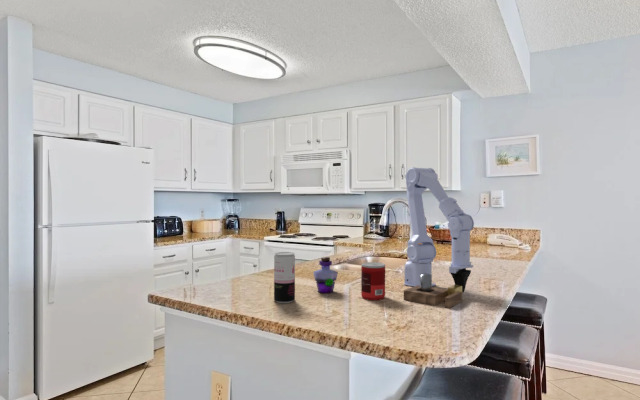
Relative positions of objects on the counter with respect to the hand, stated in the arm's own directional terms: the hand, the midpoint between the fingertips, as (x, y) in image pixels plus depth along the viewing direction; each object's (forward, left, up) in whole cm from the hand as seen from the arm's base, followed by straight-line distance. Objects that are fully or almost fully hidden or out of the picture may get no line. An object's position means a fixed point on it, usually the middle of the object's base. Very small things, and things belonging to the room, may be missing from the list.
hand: (460, 291), depth 131 cm
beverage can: (-40, -42, -2) cm, 58 cm away
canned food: (-21, -20, -2) cm, 29 cm away
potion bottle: (-38, -24, -2) cm, 45 cm away
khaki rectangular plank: (0, -4, -2) cm, 5 cm away
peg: (-7, -11, -2) cm, 13 cm away
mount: (-5, -11, -2) cm, 13 cm away
